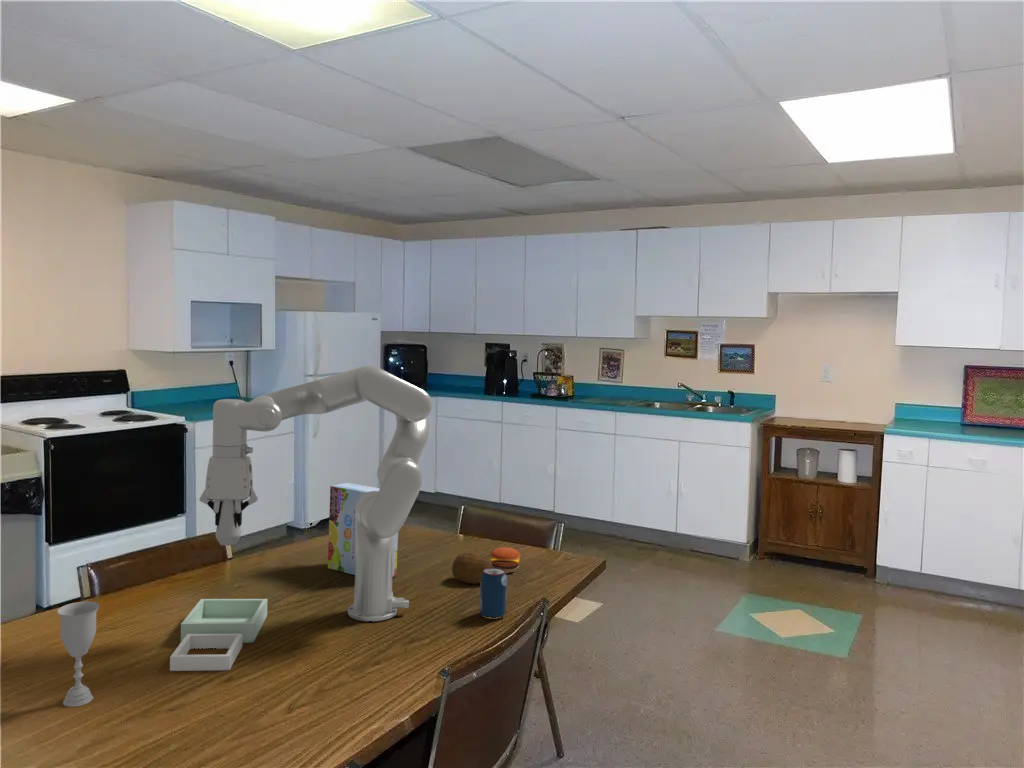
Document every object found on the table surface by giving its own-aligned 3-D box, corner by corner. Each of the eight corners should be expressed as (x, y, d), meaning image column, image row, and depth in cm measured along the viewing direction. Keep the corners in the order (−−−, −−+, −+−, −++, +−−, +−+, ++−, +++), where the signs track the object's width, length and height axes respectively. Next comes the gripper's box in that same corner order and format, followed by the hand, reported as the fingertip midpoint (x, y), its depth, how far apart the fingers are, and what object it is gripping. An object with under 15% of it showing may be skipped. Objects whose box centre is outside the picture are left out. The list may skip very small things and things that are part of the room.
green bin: (267, 616, 188) (267, 598, 188) (253, 642, 172) (253, 623, 172) (200, 616, 186) (201, 598, 186) (180, 643, 170) (180, 624, 170)
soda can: (511, 616, 196) (513, 571, 195) (492, 622, 191) (494, 576, 190) (492, 608, 200) (494, 564, 200) (473, 615, 195) (475, 570, 195)
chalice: (69, 690, 146) (69, 601, 145) (105, 691, 147) (106, 601, 146) (49, 709, 139) (49, 615, 138) (87, 709, 140) (88, 615, 139)
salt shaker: (232, 547, 174) (233, 492, 174) (210, 545, 176) (210, 490, 175) (245, 541, 180) (246, 487, 179) (224, 538, 181) (225, 485, 180)
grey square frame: (242, 646, 170) (242, 633, 170) (229, 670, 158) (229, 656, 158) (187, 646, 169) (187, 633, 168) (169, 670, 157) (170, 656, 156)
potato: (481, 590, 214) (482, 560, 214) (445, 583, 219) (446, 553, 219) (494, 582, 222) (495, 553, 222) (459, 575, 227) (460, 546, 226)
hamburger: (490, 563, 240) (491, 543, 239) (520, 565, 240) (521, 545, 239) (488, 573, 230) (489, 551, 230) (519, 574, 230) (521, 553, 230)
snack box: (398, 576, 223) (402, 491, 222) (378, 583, 216) (381, 495, 214) (346, 561, 235) (348, 480, 233) (325, 568, 228) (328, 484, 226)
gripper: (268, 450, 181) (267, 524, 182) (198, 448, 179) (197, 524, 180) (262, 455, 174) (260, 533, 175) (188, 453, 172) (187, 532, 173)
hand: (228, 527), depth 178 cm, fingers closed on salt shaker, 3 cm apart
